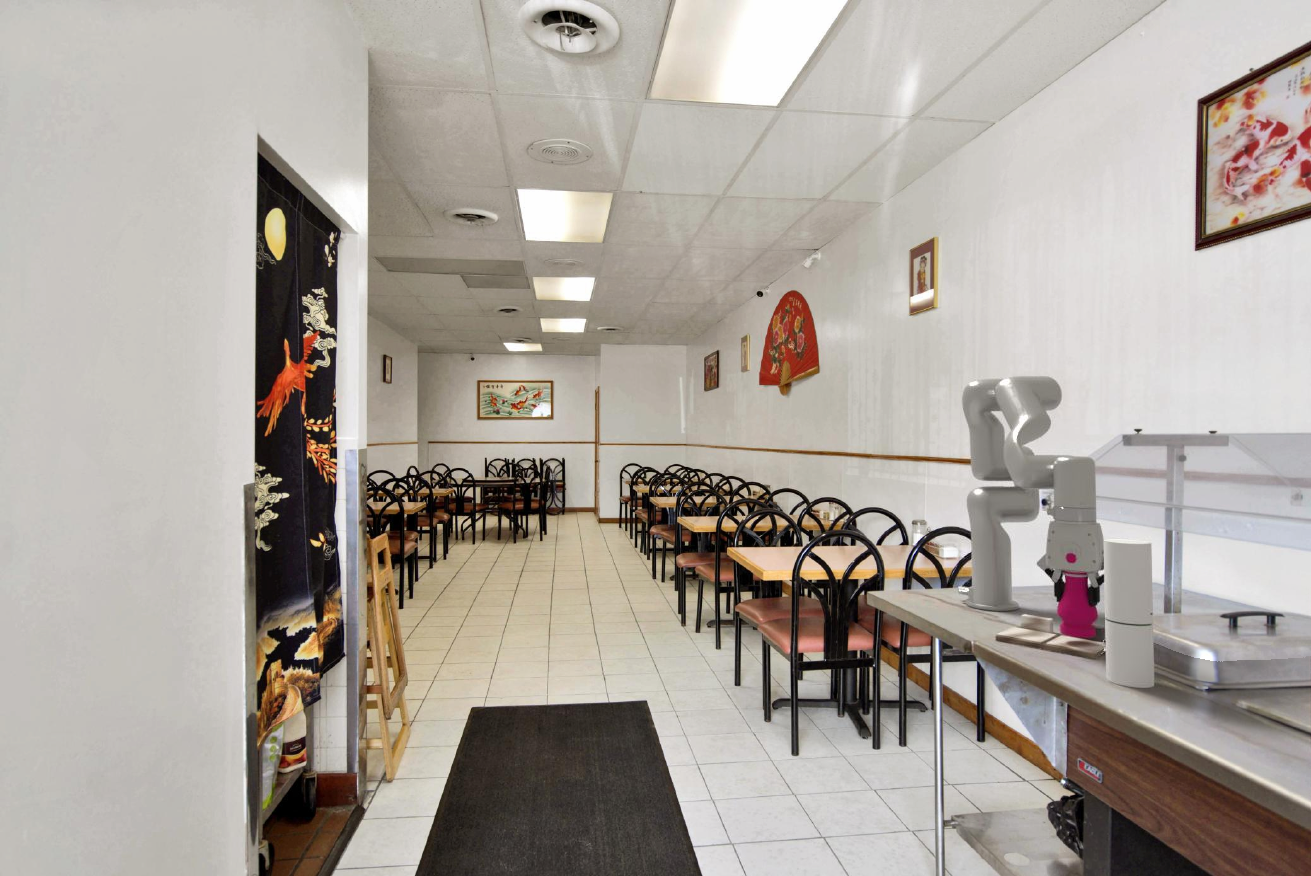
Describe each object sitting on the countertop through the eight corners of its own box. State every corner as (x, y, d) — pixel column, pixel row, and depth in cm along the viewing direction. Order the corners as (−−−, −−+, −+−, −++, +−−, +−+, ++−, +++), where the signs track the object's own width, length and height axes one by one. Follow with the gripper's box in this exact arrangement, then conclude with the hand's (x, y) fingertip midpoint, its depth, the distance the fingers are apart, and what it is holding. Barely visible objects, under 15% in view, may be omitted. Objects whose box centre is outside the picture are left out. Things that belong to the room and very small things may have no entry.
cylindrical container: (1158, 681, 125) (1155, 541, 126) (1148, 690, 120) (1145, 544, 121) (1112, 672, 130) (1109, 537, 131) (1101, 680, 125) (1098, 541, 126)
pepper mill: (1106, 638, 141) (1103, 539, 142) (1070, 638, 141) (1067, 539, 142) (1084, 629, 149) (1082, 535, 149) (1050, 629, 149) (1048, 535, 149)
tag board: (995, 640, 152) (995, 620, 153) (1018, 630, 161) (1017, 611, 161) (1094, 659, 138) (1094, 636, 138) (1113, 647, 146) (1113, 626, 146)
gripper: (1024, 514, 149) (1025, 599, 149) (1117, 519, 137) (1119, 613, 136) (1037, 512, 154) (1039, 594, 154) (1128, 517, 142) (1130, 607, 141)
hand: (1076, 602), depth 145 cm, fingers closed on pepper mill, 5 cm apart
